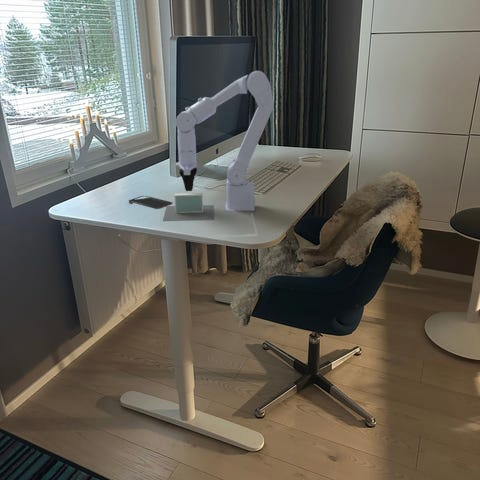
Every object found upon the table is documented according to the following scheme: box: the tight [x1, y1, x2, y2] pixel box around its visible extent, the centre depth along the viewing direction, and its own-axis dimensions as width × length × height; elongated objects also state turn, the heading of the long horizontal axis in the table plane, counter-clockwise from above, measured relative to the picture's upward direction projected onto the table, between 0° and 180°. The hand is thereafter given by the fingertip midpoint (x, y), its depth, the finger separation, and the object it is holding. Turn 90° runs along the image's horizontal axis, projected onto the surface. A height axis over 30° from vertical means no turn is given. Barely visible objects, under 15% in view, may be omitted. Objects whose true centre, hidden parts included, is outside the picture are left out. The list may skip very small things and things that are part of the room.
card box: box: [174, 192, 204, 213], centre depth 148 cm, size 9×2×6 cm, turn 93°
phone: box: [128, 195, 173, 210], centre depth 159 cm, size 8×1×15 cm
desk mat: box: [162, 204, 215, 222], centre depth 148 cm, size 16×14×1 cm
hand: (189, 190), depth 152 cm, fingers closed
